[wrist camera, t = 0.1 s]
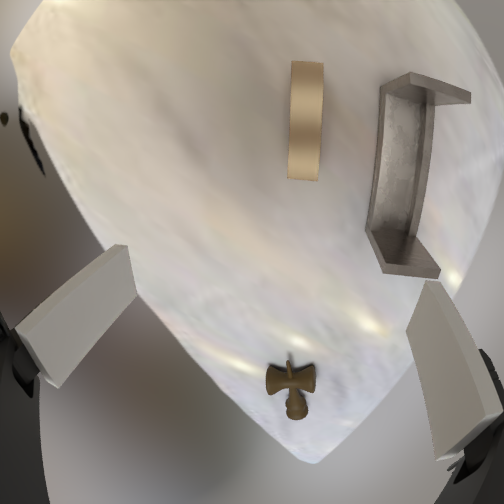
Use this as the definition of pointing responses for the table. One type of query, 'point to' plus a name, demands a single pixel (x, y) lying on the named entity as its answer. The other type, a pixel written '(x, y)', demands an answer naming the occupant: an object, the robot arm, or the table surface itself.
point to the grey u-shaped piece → (405, 171)
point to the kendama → (292, 388)
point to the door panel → (305, 120)
